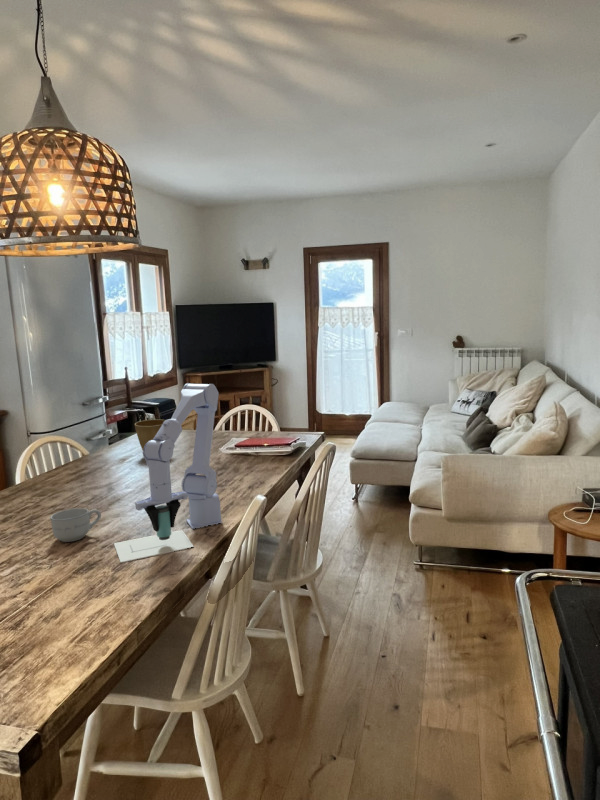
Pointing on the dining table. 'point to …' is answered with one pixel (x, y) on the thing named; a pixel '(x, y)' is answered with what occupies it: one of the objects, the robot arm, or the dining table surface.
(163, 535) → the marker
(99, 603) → the dining table surface
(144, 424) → the plant pot
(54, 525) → the teacup
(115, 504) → the dining table surface
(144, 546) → the paper pad
